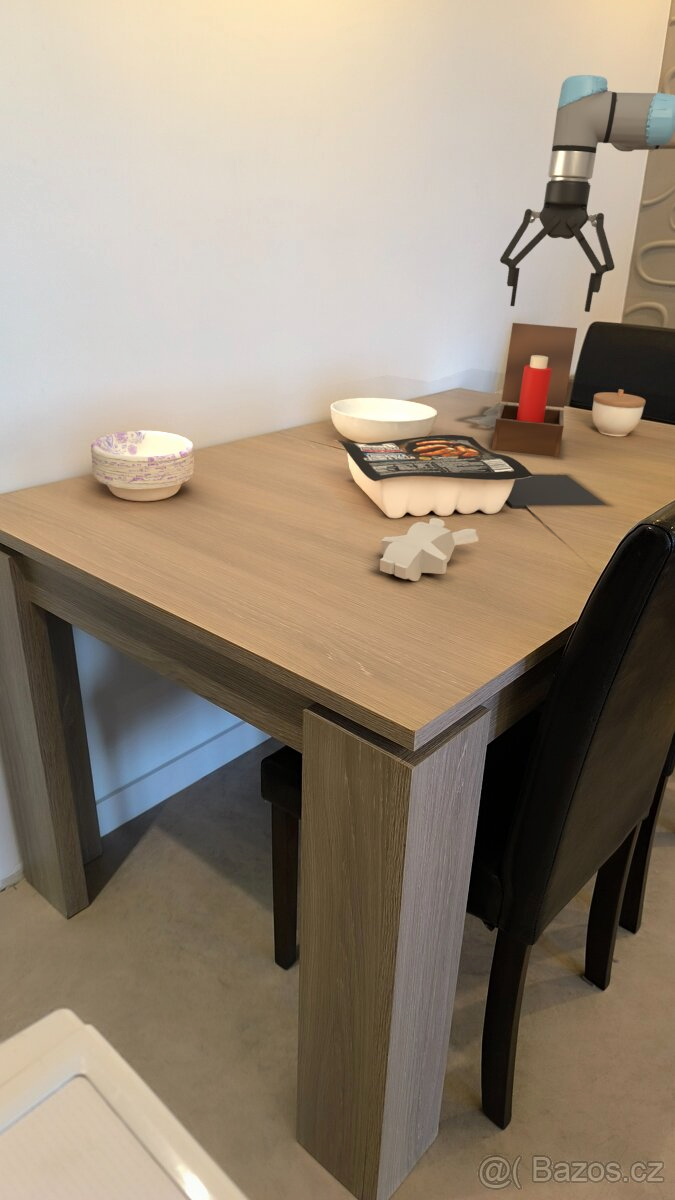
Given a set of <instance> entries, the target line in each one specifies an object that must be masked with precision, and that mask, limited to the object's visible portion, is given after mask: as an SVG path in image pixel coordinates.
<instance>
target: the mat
mask: <svg viewBox="0 0 675 1200" xmlns="http://www.w3.org/2000/svg"><path fill="white" fill-rule="evenodd" d="M532 475H533V476H532V477H527V478H522V479H515V481H514V484H513V487H512V490H511V492H510V494H509V497H508V498H507V500H506V501H505V503H506V504H507V506H509V508H510V509H529V507H528V506H607V504H606V503H605V502H603V501H602V500H601V499H599V498H598V497H597V496H596V495H594V494H593V493H591V492H590V491H588V490H587V489H586V488H585V487H583V486H582V485H581V484H579V483H578V482H577V481H575V480H574V479H573V478H571V477H570V476H568V475H567V474H532Z"/></svg>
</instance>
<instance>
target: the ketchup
mask: <svg viewBox="0 0 675 1200" xmlns="http://www.w3.org/2000/svg"><path fill="white" fill-rule="evenodd" d="M547 363H548V357H546V356H539V355H533V356H531V361H530V365H526V366H524V373H523V379H522V386H521V393H520V400H519V403H518V405H519V407H518V414H517V420H521V421H530V422H540V423H543V422H544V415H545V409H546V408H547V406H546V403H547V397H548V390H549V384H550V378H551V372H552V368H550V367H547Z"/></svg>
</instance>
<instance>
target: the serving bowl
mask: <svg viewBox="0 0 675 1200" xmlns="http://www.w3.org/2000/svg"><path fill="white" fill-rule="evenodd" d="M330 417H331V421H332V423H333V425H334V427H335V429H336V430H337V431H338V433H339V434H340V435H341V436H343V437H345V438H346V439H348V440H350V441H353V442H354V443H374V442H385V441H393V440H401V439H408V438H416V437H425V436H429V434H430V433H431V432H432V431H433V429H434V427H435V424H436V421H437V418H438V411H437V410H436V409H435V408H434V407H431V406H429V405H426V404H424V403H420V402H414V401H410V400H404V399H396V398H395V399H394V398H382V397H381V398H379V397H354V398H346V399H345V398H344V399H340V400H336V401H334V402H332V403H331V404H330Z"/></svg>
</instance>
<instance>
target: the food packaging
mask: <svg viewBox="0 0 675 1200" xmlns="http://www.w3.org/2000/svg"><path fill="white" fill-rule="evenodd" d="M334 441H336V442H338V443H340V445H342V447H343V448H344V450H345V451H346V454H347V461H348V468H349V471H350V473H351V475H352V478H353V481H354V482H355V484H357V485H358V487H359V488H360V489H361V490H362V491H363V492H364V493H365V494H366V495H367V496H368V497H369V499H370V500H371V501H372V502H373V503H374V504H375V505H376V506H377V507H378V508H379V509H380V510H381V511H382V513H384V515H385V516H387V518H390V519H400V518H402V517H404V516H405V515H406V514H407V513H409V514H410V515H411V516H414V517H423V516H426V515H428V514H429V513H430V512H431V511H432V512H433V513H434V514H435V515H437V516H439V517H448V516H451V515H452V514H453V513H454V511H456V512H458V513H460V514H463V515H471V514H473V513H475V512H477V511H480V512H482V513H483V514H487V515H494V514H497V513H499V512H500V511H501V510H502V508H503V507H504V505H505V503H506V502H505V501H506V500H507V498H508V497H509V494H510V492H511V490H512V487H513V484H514V481H515V479H522V478H527V477H532V476H533V475H534V474H533V473H532V472H530V470H529V469H527V468H526V466H524V464H522V463H521V462H519V461H518V460H516V459H515V458H513V457H511V456H508V455H506V454H502V453H496V452H493V451H491V450H488V449H486V448H485V447H484V446H482V445H481V444H480V443H479V442H478V441H477V440H476V439H474V437H473V436H467V435H463V434H462V435H459V434H440V435H439V434H438V435H427V436H425V437H416V438H408V439H401V440H393V441H385V442H374V443H358V442H349V441H343V440H338V439H334Z"/></svg>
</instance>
